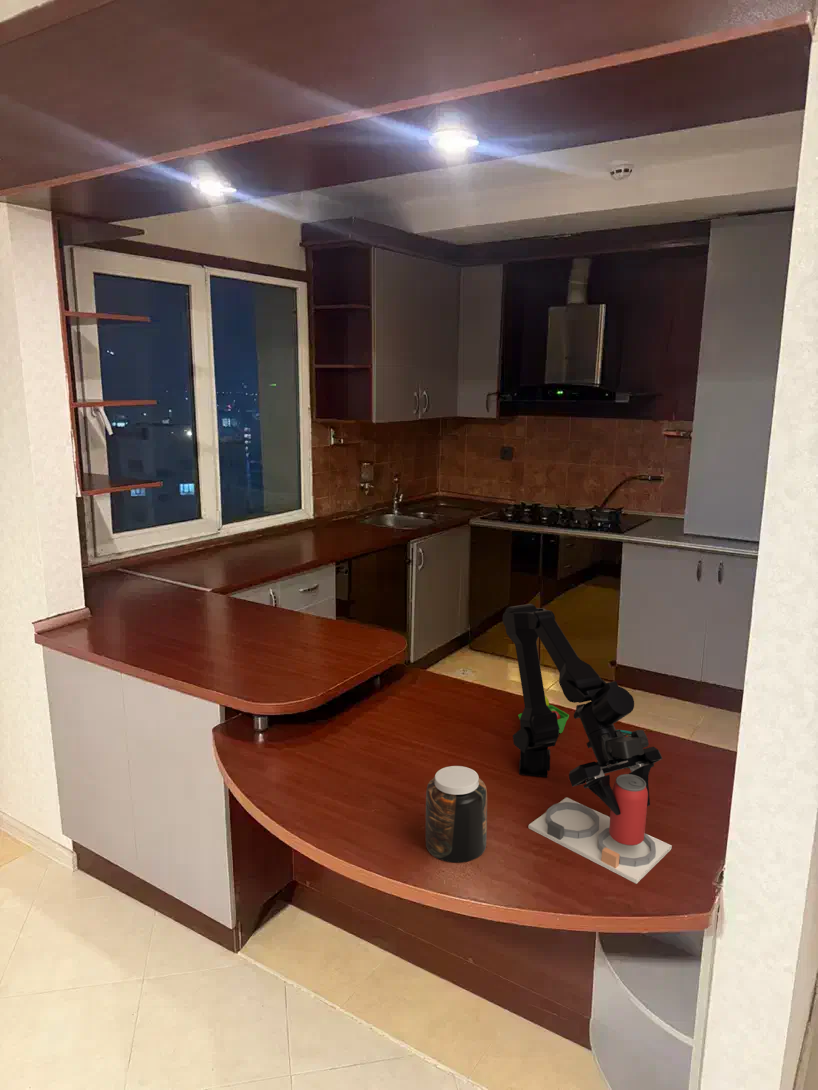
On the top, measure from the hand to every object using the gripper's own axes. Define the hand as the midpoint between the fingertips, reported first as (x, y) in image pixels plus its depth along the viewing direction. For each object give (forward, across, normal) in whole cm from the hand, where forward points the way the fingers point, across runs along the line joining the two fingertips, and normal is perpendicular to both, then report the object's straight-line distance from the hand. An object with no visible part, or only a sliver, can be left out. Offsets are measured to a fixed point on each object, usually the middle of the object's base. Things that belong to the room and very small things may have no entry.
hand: (633, 810), depth 141 cm
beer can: (+4, 0, +6) cm, 7 cm away
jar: (-4, -29, +19) cm, 35 cm away
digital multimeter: (-15, +25, +31) cm, 42 cm away
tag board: (+2, -2, +12) cm, 12 cm away
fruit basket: (-27, +12, +42) cm, 52 cm away
